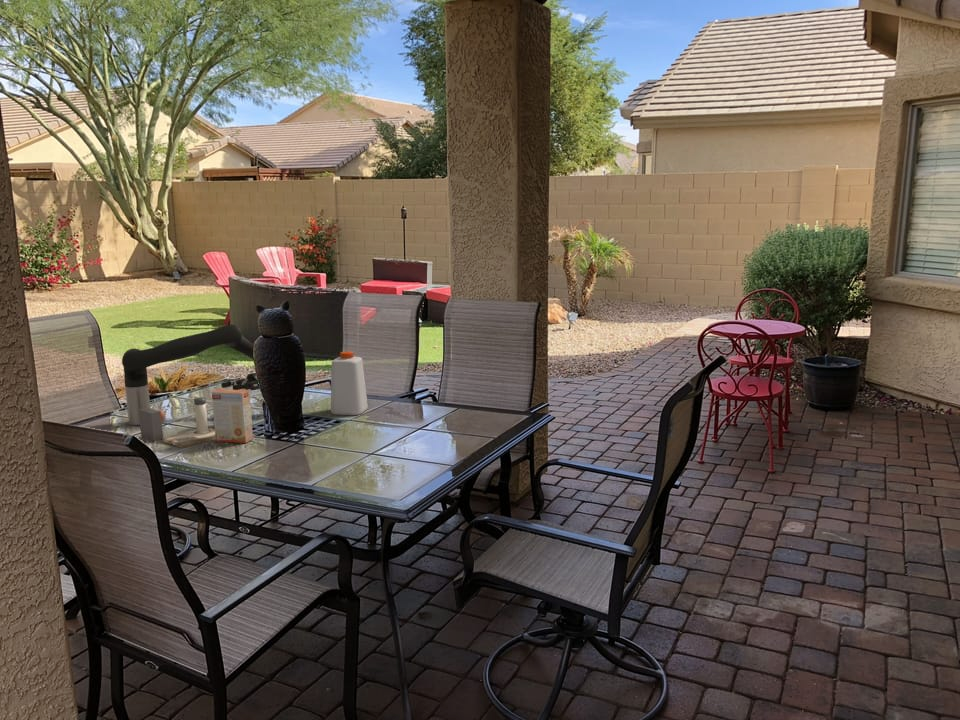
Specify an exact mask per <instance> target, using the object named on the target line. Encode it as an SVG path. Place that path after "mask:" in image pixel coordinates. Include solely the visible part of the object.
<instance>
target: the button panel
mask: <svg viewBox="0 0 960 720" xmlns="http://www.w3.org/2000/svg"><path fill="white" fill-rule="evenodd" d="M158 410H159V409H154V408H151V407H150V408H145V409H140V410H139V419H140V425H139V427H140V436H141V437H142V438H141V439H143V440H144V439H145V440H147V441H149V442H153V441H156V442H159V441H158V440H160V441H162V440H161V439H162V438H164V432H163V420H161V411H158Z"/></svg>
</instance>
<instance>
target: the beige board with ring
mask: <svg viewBox="0 0 960 720" xmlns="http://www.w3.org/2000/svg"><path fill="white" fill-rule="evenodd" d="M162 439H163V440H162V443H165V442H167V443H166V444H168V443H170V444H169V445H171V444H173V445H172V446H174V445H177V446H180V447H179V448H181V447H183V448H185V447H184V446H187V447H189V446H188V445H191V446H193V445H192V444H194V445H196V444H195V443H198V444H200V443H199V442H202V443H204V442H203V441H205V442H208V441H207V440H209V441H212V440H211V439H213V440H216V437H215V428H211V427H208V431H207V432H204V433H198V432H197V429H193V430H191V431H187V432H183V433H178V434H174V435H171V436H167V437H163V438H162ZM177 446H176V447H177Z"/></svg>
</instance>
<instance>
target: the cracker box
mask: <svg viewBox="0 0 960 720" xmlns="http://www.w3.org/2000/svg"><path fill="white" fill-rule="evenodd" d="M250 392H251V391H250V389H249V390H245V389H244V390H242V389H240V390H233V389H225V388H219V389H216V390H214V391H212V392H211V399H212V412H213V420H214V422H213V424H214V429H215V437H216V439H215V442H217V443H218V442H220V443H222V442H223V443H236V444H237V443H238V444H247V443H249V442H251V441H253V440H254V433H253V423H252V422H253V420H252V419H253V418H252V408H251V407H252V405H251V397H250V396H251V395H250Z"/></svg>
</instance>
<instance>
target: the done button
mask: <svg viewBox="0 0 960 720" xmlns="http://www.w3.org/2000/svg"><path fill="white" fill-rule="evenodd" d="M157 410H158V411H161V420H162V421H164V420H165V419H166V417H165V416H166V415H165V412H164V410H162V409H157Z"/></svg>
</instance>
